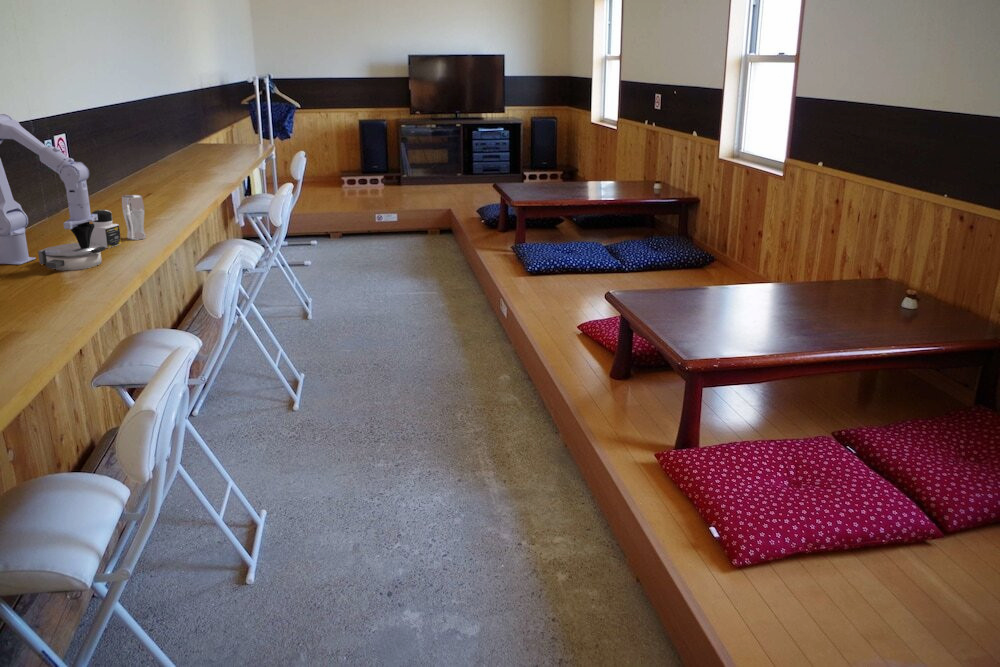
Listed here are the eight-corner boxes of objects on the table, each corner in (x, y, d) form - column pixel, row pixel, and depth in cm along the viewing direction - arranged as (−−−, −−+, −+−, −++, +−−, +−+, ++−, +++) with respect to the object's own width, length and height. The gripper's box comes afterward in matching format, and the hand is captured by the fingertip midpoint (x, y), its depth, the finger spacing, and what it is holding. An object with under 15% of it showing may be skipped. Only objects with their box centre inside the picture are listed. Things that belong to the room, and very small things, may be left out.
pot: (22, 271, 235) (19, 257, 233) (68, 253, 257) (66, 241, 255) (76, 275, 234) (74, 261, 232) (118, 257, 255) (116, 244, 254)
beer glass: (121, 238, 279) (116, 196, 274) (136, 235, 285) (132, 193, 280) (136, 241, 277) (131, 198, 272) (151, 237, 283) (147, 195, 278)
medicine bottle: (108, 248, 265) (103, 213, 261) (89, 247, 266) (84, 211, 262) (121, 244, 272) (117, 209, 268) (103, 242, 273) (98, 208, 269)
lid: (33, 257, 237) (32, 253, 237) (63, 246, 252) (62, 242, 251) (87, 257, 236) (86, 253, 236) (114, 246, 250) (114, 242, 250)
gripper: (77, 208, 231) (83, 253, 236) (104, 200, 245) (110, 243, 250) (54, 207, 232) (61, 252, 236) (83, 199, 246) (88, 242, 250)
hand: (84, 247), depth 243 cm, fingers closed, pressing on lid
